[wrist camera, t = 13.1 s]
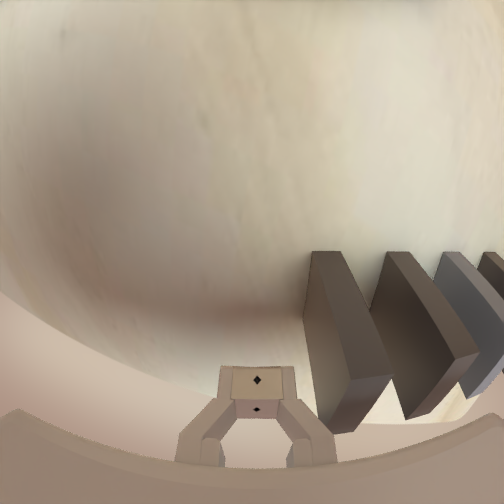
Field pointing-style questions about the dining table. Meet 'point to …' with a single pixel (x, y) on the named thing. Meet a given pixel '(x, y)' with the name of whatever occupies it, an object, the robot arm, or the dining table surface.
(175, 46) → the dining table surface
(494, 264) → the domino
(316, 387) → the domino
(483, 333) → the domino
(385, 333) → the domino
